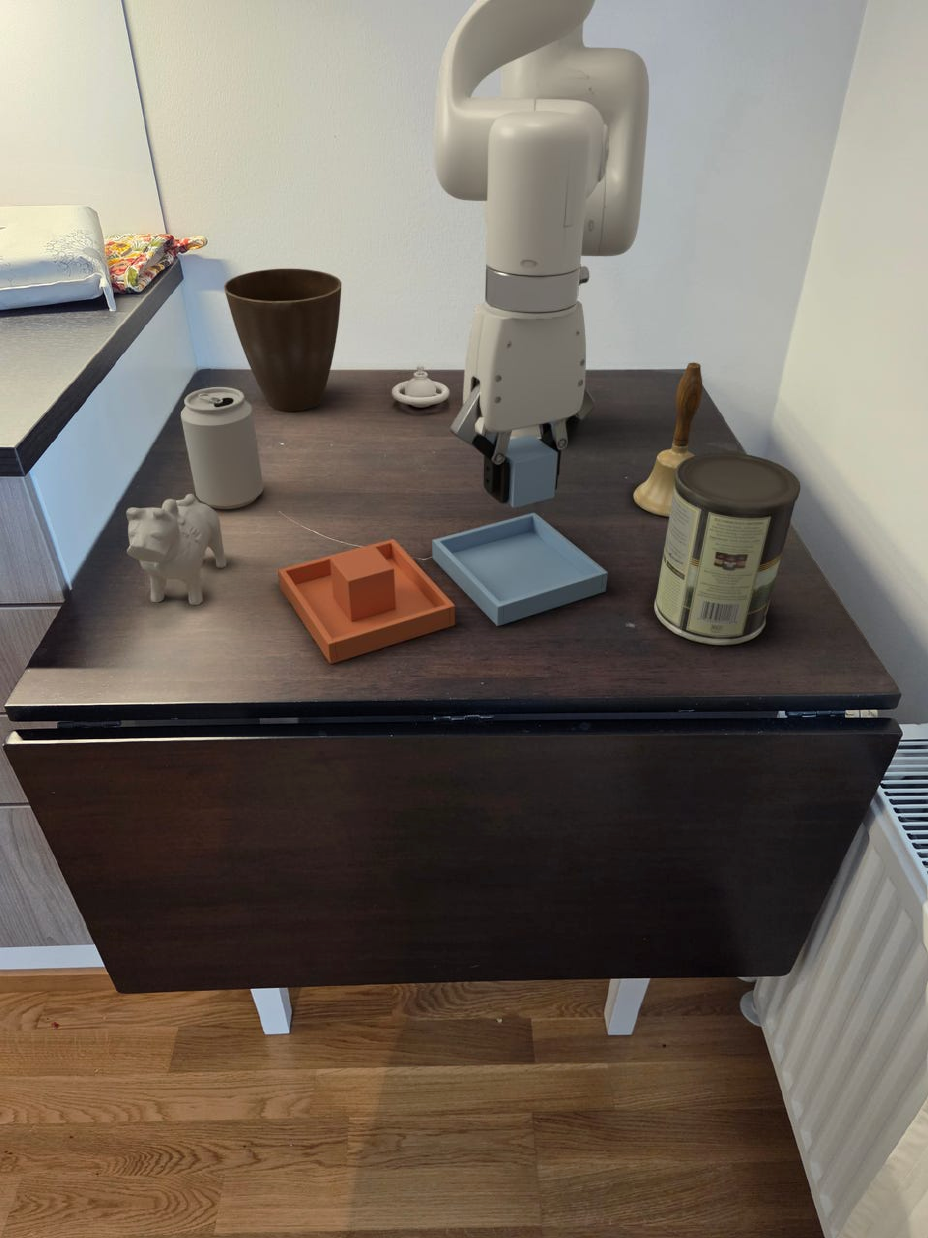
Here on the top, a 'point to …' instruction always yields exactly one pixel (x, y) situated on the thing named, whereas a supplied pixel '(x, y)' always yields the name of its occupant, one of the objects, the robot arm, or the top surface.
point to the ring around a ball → (420, 390)
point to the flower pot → (287, 331)
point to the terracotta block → (363, 583)
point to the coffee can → (724, 546)
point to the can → (222, 447)
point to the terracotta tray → (344, 639)
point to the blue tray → (518, 568)
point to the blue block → (530, 471)
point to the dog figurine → (175, 543)
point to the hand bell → (661, 481)
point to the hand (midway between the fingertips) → (521, 489)
